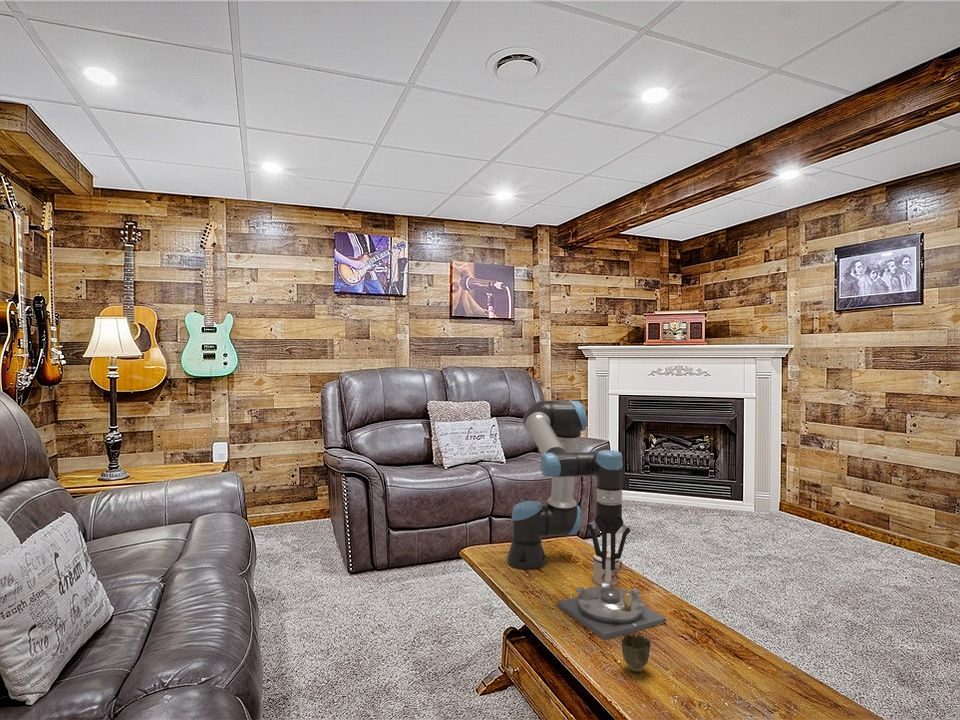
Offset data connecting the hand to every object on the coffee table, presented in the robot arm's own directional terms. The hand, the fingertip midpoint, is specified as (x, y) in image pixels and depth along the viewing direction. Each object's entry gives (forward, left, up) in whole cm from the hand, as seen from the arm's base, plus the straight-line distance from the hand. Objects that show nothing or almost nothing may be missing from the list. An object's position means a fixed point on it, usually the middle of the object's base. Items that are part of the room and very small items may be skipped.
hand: (608, 580), depth 171 cm
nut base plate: (-6, +6, -14) cm, 16 cm away
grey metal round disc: (-6, +6, -12) cm, 15 cm away
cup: (+22, -9, -14) cm, 28 cm away
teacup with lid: (-27, +22, -14) cm, 38 cm away
